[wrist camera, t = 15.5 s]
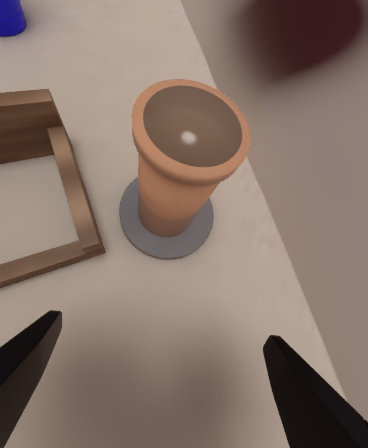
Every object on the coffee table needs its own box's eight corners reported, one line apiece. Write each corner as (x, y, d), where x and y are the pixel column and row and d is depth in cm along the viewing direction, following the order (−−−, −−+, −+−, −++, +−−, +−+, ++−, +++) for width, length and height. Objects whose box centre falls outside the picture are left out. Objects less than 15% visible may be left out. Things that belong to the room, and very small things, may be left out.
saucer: (195, 273, 24) (198, 272, 23) (103, 237, 23) (101, 234, 22) (219, 195, 28) (223, 190, 27) (142, 162, 27) (143, 156, 26)
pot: (160, 253, 22) (189, 200, 10) (120, 203, 23) (105, 101, 11) (207, 217, 25) (273, 141, 13) (170, 173, 26) (199, 66, 14)
